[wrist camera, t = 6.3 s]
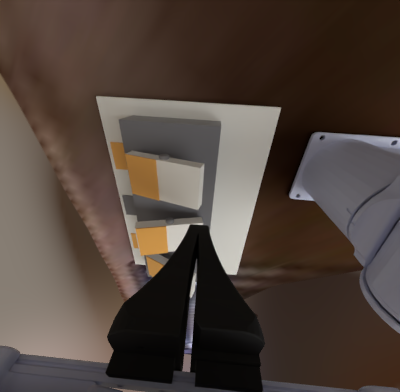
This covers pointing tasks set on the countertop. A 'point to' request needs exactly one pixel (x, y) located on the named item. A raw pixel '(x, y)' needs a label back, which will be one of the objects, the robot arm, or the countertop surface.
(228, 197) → the switch unit
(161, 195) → the rocker
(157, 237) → the rocker
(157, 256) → the block
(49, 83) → the countertop surface
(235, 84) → the countertop surface
